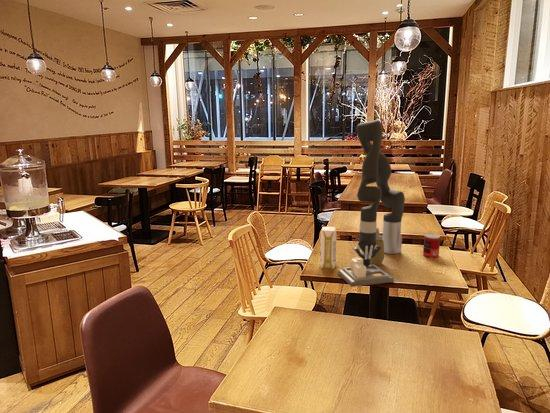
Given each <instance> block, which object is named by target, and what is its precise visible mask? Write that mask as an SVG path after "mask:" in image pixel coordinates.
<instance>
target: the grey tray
mask: <svg viewBox="0 0 550 413" xmlns="http://www.w3.org/2000/svg"><path fill="white" fill-rule="evenodd" d="M337 274H338V276H340V278H342V279H343V280H344V281H345V282H346V283H347V284H348V285H349V286H350V287H351V288H352V287H362V286H369V285H371V286H372V285H379V284H386V283H394V279H395V278H394V276H393V275H391V274H389V273H388V272H387V271H385V270H384V269H383V268H381V267H380V265H372V264H370V265H369V267H366V277H363V278H356V277H355V276H354V275H353V270H351V266H348V267H347V266H346V267H345V266H344V267H342V268H341V269H338V270H337Z"/></svg>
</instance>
